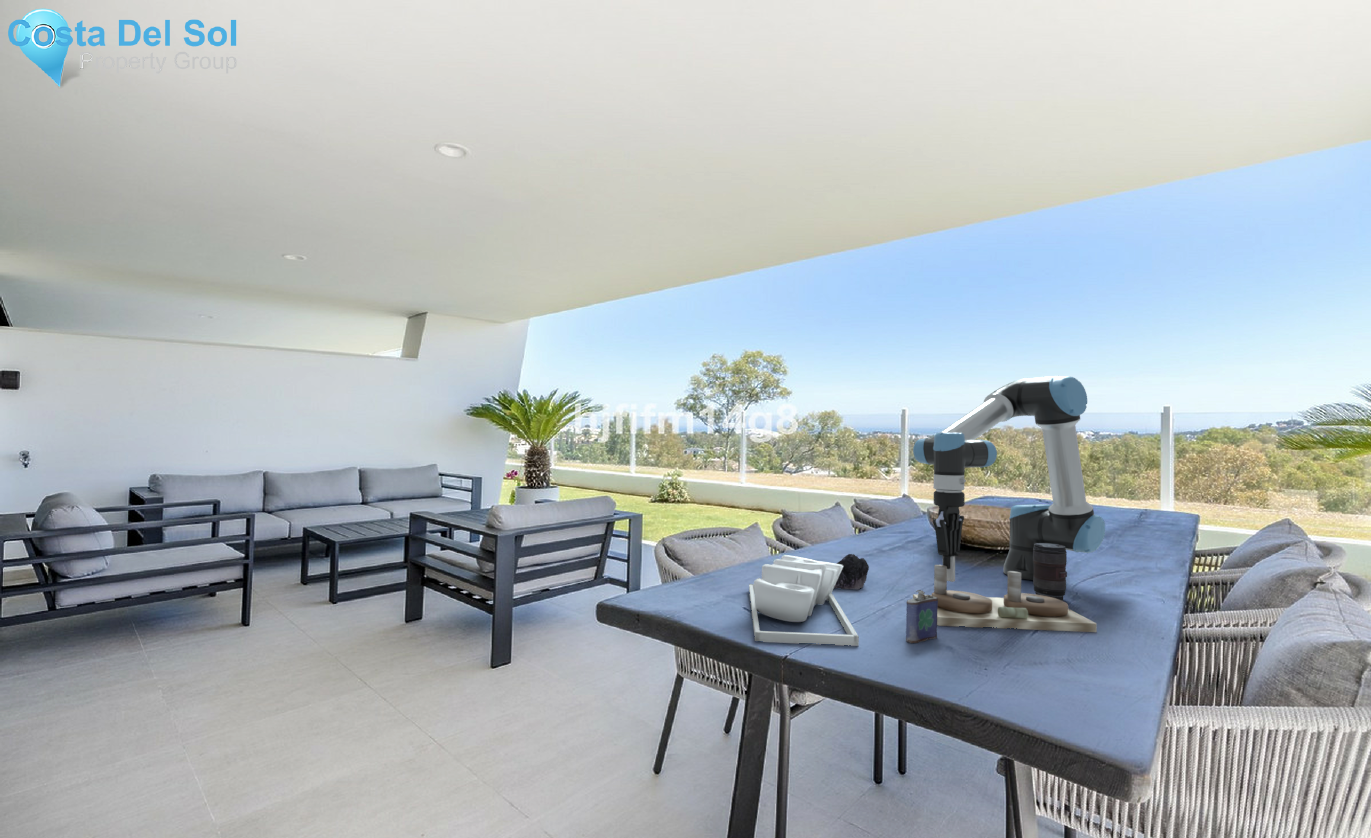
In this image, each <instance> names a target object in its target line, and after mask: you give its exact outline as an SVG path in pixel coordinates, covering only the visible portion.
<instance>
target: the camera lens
mask: <svg viewBox="0 0 1371 838" xmlns="http://www.w3.org/2000/svg"><path fill="white" fill-rule="evenodd" d="M1067 558H1068V556H1067V550H1066V548H1065V546H1063V545H1058V544H1049V543H1036V544H1034V548H1033V563H1034V577H1033V580H1032V581H1033V583H1032V584H1033V591H1034V592H1035V593H1034V594H1037V595H1043V596H1048V597H1052V598H1056V599H1059V600H1062V601H1064V596H1066V591H1067V590H1066V589H1067V579H1066V578H1067V577H1068V572H1067V569H1066V567H1067V563H1068V562H1067V561H1068V559H1067Z"/></svg>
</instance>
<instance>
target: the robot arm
mask: <svg viewBox="0 0 1371 838" xmlns="http://www.w3.org/2000/svg"><path fill="white" fill-rule="evenodd" d="M1087 404H1088V395H1087V391H1086V388H1085V387H1084V385H1083V384H1082V382H1081V381H1079V380H1078V379H1077V378H1075V377H1073V376H1060V375H1054V376H1044V377H1043V376H1040V377H1033V378H1030V377H1029V378H1028V377H1027V378H1021V379H1017V380H1013V381H1012V382H1009V383H1007V384H1005V385H1002V386H1001V387H999V388H998V389H996V390H994V391H993V392H991V393H990V394H988V395H987V396H986V397H984V400H983V402H982V403H980V404H979V405H978V406H976V407H975V408H974V409H972V410H970V411H969V412H968V413H966V414H965V415H963V416H962V417H961V418H959V419H958V420H956V421H955V422H953V423H952V424H950V425H949V426H948V427H946V428H944V429H943V430H941V431H940V432H936V433H935V434H934V436H932V437H930V438H928V437H924V438H919V439H918V440H916V441H915V443H914V445H913V448H912V452H913V453H912V454H913V457H914V459H915V460H916V461H917V462H918V463H920V464H926V465H929V466H930V465H933V489H934V490H935V491H933V505H934V506H937V507H938V511H937V516H938V517H937V518H933V520H932V524H933V526H934V530H935V539H936V548H937V552H938V553H937V554H938V555H939V556H942V565H944V566H947V582H951V583H954V582H955V581H956V557H959V556H960V550H961V540H962V533H963V524H964V521H965V516H964V515H960V508H963V507H964V506H965V503H966V502H965V501H966V500H965V495H966V494H965V493H964V490H965V483H966V482H967V481H966V479H965V468H966V469H967V468H978V469H979V468H980V469H983V468H984V467H985V468H986V467H987V468H988V467H990V466H993V464H994V463H995V462H996V459H997V458H998V451H997V448H996V446H995V444H994V443H993V442H991V441H989V440H988V439H987V440H986V439H985V440H984V439H978V438H979V437H981V436H982V435H984V434H985V433H986V432H988V431H989V430H990V429H992V428H994V427H995V426H996V425H998V424H999V423H1000V422H1003V423H1004V422H1008V421H1009V420H1010V419H1012V418H1015V417H1023V416H1026V417H1027V416H1028V417H1034V421H1035V422H1034V423H1035V424H1036V426H1038V427H1040V428H1041V429H1042V431H1041V432H1042V437H1043V444H1044V449H1045V450H1044V451H1045V457H1046V463H1047V470H1048V477H1049V484H1050V485H1049V486H1050V491H1051V496H1052V503H1051V505H1050V504H1043V503H1042V504H1017V505H1013V506H1011V508H1010V513H1009V551H1008V554H1007V556H1006V558H1005V561H1004V564H1003V573H1004V574H1005V575H1007V576H1008V571H1015V572H1020V573H1021V580H1027V581H1028V580H1030V581H1033V577H1034V563H1033V548H1034V544H1036V543H1049V544H1058V545H1063V546H1065V548H1066V551H1070V552H1074V553H1084V554H1091V553H1094V552H1096V551H1097V550H1098V549H1099V548H1100V547H1101V545H1102V544H1103V543H1102V542H1103V541H1104V538H1105V534H1106V523H1105V520H1104V519H1103V517H1102V516H1100V515H1098V514H1095V511H1094V506H1093V505H1092V504H1091V503H1089V502H1088V501H1087V498H1086V497H1087V496H1086V491H1085V484H1084V476H1083V470H1082V463H1081V456H1080V448H1079V442H1078V441H1079V440H1078V437H1077V436H1078V435H1077V429H1076V427H1077V426H1076V425H1077V424H1078V423H1079V422H1080V421H1081V415H1082V414H1084V413H1085V412H1086V410H1087Z"/></svg>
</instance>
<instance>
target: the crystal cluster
mask: <svg viewBox="0 0 1371 838" xmlns="http://www.w3.org/2000/svg"><path fill="white" fill-rule="evenodd" d="M835 564H841V565H842V566H843V568H842V571H841V573H840V575H839V577H838V580H837V582H836V584H835V586H834V589H837V588H841V589H840V590H861V589H862V588H864V587H865V583H866V581H867V577H868V573H869V570H870V566H869V564H868V562H867V560H866V559H865V558H863V557H861V558H859V557H858V555H856V554H854V553H848V554H847V555H845V556H844V557H843V558H842V559H841V560H839V561H838V562H836V563H835ZM860 588H861V589H860Z"/></svg>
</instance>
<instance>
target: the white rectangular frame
mask: <svg viewBox="0 0 1371 838" xmlns="http://www.w3.org/2000/svg"><path fill="white" fill-rule="evenodd" d="M748 592H750V594H749V601H751V603H750V610H752V611H751V619H753V620H752V628H753V635H754V636H755V637H754V636H753V637H754V642H755V641H763V642H762V643H778V644H780V643H781V644H783V643H784V644H799V643H816V644H815V645H821V644H835V645H834V646H844V645H848V646H849V645H851V646H849V647H859V645H860V644H859V643H860V641H859V640H860V638H859V637H860V636H859V635H858V633H857V632H856V629H855V628H854V627H853V625H852V623H851V621H850V620H849V619H848V617H847V615H846V613H845V612H844V611H843V609H842V607H841V606H840V603H838V601H837V599H836V598H835V595H834V594H833V592H832V593H831V594H830V595H829V600H827V602H828V601H829V602H828V603H829V605H830V607H831V606H832V607H831V608H833V609H832V610H833V612H834V611H835V612H834V614H835V615H837V616H836V618H837V619H838V621H839V620H840V621H839V623H840V622H841V623H840V625H841V626H842V628H843V627H844V628H843V629H844V631H845V634H842V633H841V634H840V633H839V634H838V633H819V632H817V633H816V632H815V633H814V632H794V631H793V632H792V631H767V630H760V625H759V624H760V623H759V618H758V611H757V610H756V608H755V594H754V583H749V585H748ZM818 643H819V644H818Z"/></svg>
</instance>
